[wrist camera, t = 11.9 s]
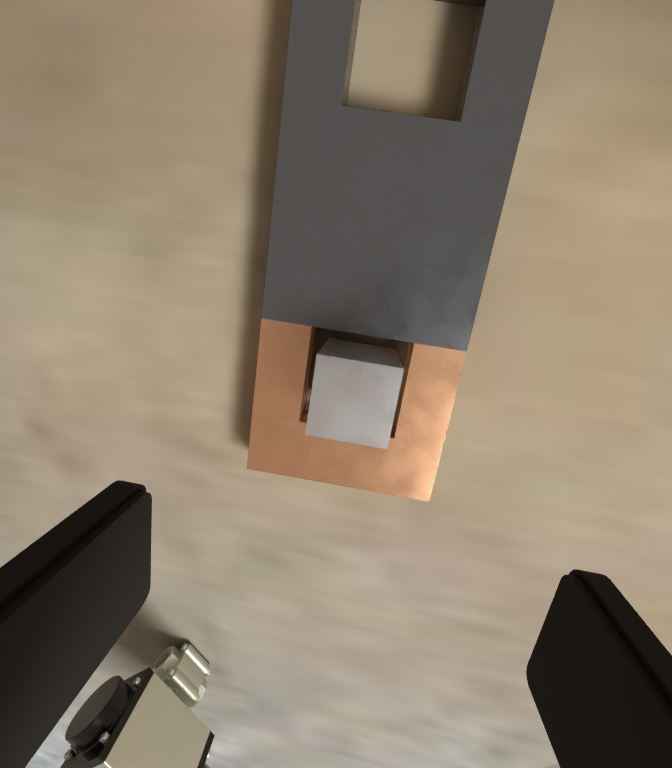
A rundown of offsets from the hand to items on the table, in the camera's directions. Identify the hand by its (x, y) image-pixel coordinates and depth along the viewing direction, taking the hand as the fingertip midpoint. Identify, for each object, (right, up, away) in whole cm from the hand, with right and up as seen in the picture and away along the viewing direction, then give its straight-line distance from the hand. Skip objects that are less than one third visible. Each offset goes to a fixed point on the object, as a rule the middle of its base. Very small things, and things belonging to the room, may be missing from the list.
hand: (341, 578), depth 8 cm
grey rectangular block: (+1, +5, +20) cm, 20 cm away
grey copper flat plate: (+3, +15, +17) cm, 23 cm away
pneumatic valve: (-15, -23, +29) cm, 40 cm away
